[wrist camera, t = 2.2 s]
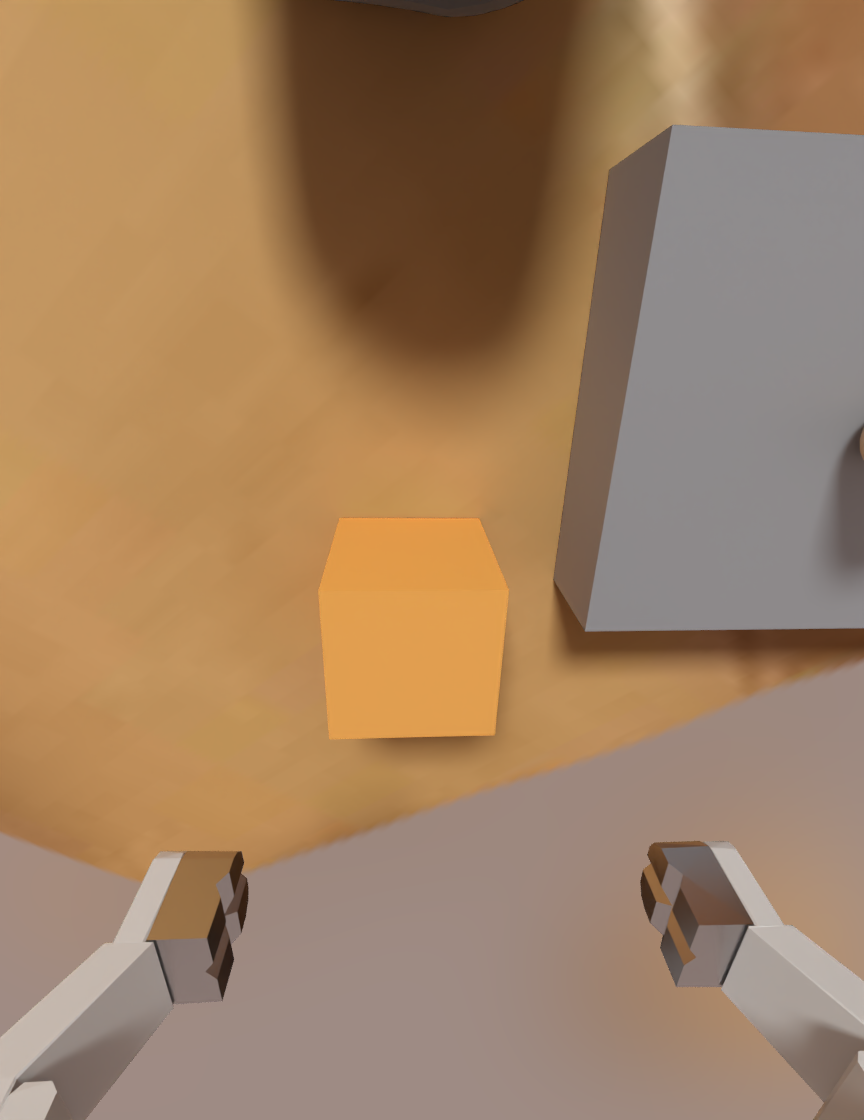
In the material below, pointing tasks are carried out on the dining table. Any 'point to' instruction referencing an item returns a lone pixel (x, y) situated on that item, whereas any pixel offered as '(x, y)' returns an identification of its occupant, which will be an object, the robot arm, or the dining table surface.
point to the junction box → (723, 390)
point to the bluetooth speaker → (444, 6)
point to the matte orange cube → (412, 628)
